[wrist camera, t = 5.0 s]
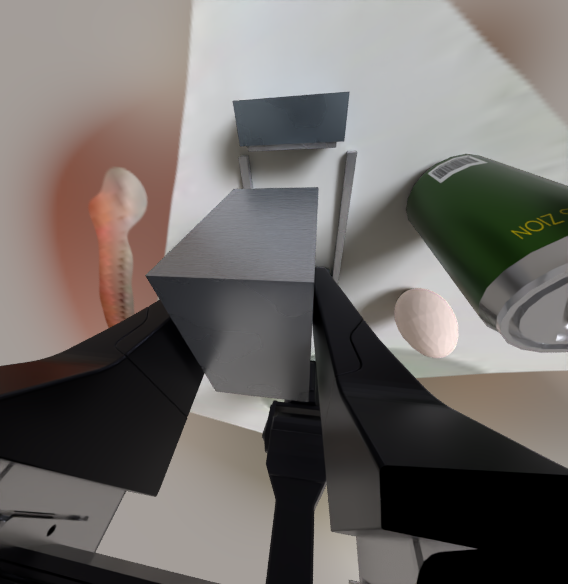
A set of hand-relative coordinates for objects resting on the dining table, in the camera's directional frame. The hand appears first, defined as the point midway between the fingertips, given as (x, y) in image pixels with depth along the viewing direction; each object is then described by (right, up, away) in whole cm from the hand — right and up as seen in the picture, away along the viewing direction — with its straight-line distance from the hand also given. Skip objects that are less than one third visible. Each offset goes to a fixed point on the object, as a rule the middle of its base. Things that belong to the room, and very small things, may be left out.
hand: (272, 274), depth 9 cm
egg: (+14, -1, +14) cm, 19 cm away
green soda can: (+12, +7, +7) cm, 16 cm away
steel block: (0, +1, +1) cm, 2 cm away
